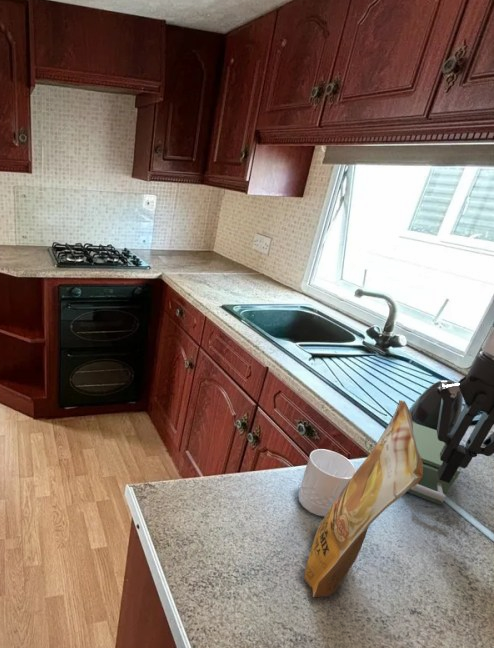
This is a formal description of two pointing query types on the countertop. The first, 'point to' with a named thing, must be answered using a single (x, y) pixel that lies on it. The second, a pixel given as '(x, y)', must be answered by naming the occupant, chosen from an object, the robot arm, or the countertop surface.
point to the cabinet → (430, 448)
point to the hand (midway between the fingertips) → (443, 476)
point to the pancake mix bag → (364, 503)
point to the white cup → (324, 480)
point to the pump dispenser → (434, 407)
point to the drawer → (431, 485)
